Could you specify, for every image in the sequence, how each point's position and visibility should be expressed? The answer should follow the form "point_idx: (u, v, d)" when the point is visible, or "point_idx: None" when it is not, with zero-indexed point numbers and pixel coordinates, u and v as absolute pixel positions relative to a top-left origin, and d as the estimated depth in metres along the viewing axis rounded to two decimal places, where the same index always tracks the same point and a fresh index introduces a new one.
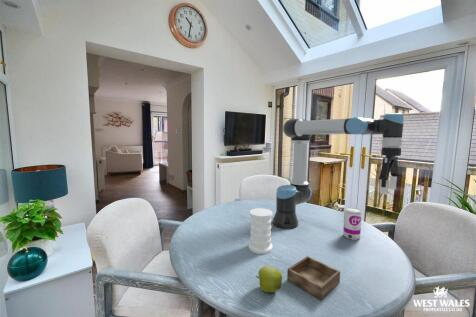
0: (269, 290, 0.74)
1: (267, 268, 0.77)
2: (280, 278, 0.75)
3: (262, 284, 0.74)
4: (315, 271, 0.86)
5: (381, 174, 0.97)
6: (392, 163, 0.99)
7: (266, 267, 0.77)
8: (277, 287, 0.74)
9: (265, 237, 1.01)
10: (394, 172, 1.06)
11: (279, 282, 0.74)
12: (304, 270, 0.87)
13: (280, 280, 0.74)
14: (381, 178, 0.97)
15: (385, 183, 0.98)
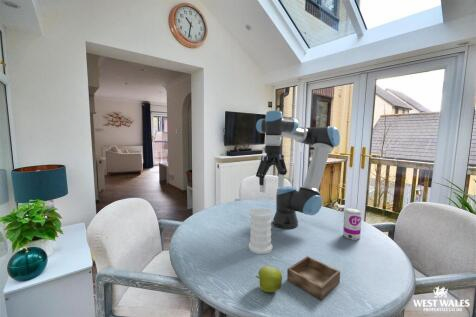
0: (269, 290, 0.74)
1: (267, 267, 0.77)
2: (280, 278, 0.75)
3: (262, 284, 0.74)
4: (315, 271, 0.86)
5: (257, 172, 0.96)
6: (271, 161, 0.99)
7: (266, 267, 0.77)
8: (277, 287, 0.74)
9: (265, 237, 1.01)
10: (280, 170, 1.06)
11: (279, 282, 0.74)
12: (304, 270, 0.87)
13: (280, 280, 0.74)
14: (257, 176, 0.96)
15: (262, 181, 0.97)
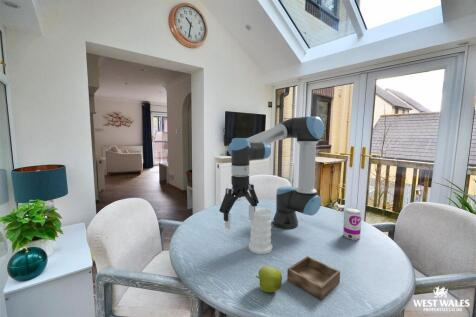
0: (269, 290, 0.74)
1: (267, 268, 0.77)
2: (280, 278, 0.75)
3: (262, 284, 0.74)
4: (315, 271, 0.86)
5: (221, 207, 0.87)
6: (237, 194, 0.89)
7: (266, 267, 0.77)
8: (277, 287, 0.74)
9: (265, 237, 1.01)
10: (250, 201, 0.96)
11: (279, 282, 0.74)
12: (304, 270, 0.87)
13: (280, 280, 0.74)
14: (220, 211, 0.86)
15: (226, 217, 0.87)
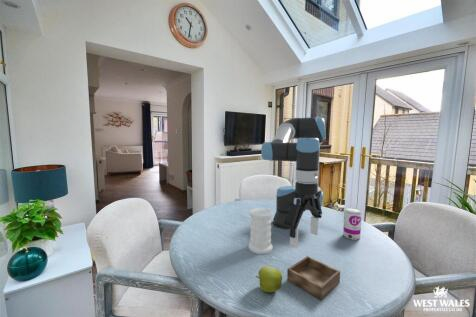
0: (269, 290, 0.74)
1: (267, 267, 0.77)
2: (280, 278, 0.75)
3: (262, 284, 0.74)
4: (315, 271, 0.86)
5: (288, 221, 0.72)
6: (305, 204, 0.74)
7: (266, 267, 0.77)
8: (277, 287, 0.74)
9: (265, 237, 1.01)
10: (314, 213, 0.81)
11: (279, 282, 0.74)
12: (304, 270, 0.87)
13: (280, 280, 0.74)
14: (287, 226, 0.71)
15: (294, 232, 0.72)
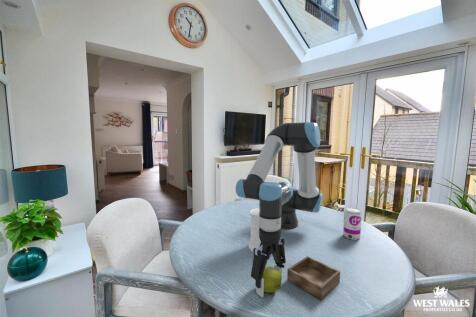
0: (269, 290, 0.73)
1: (267, 268, 0.77)
2: (280, 278, 0.75)
3: None
4: (315, 271, 0.86)
5: (252, 272, 0.72)
6: (268, 253, 0.73)
7: (266, 267, 0.77)
8: (277, 287, 0.74)
9: None
10: (277, 261, 0.78)
11: (279, 282, 0.74)
12: (304, 270, 0.87)
13: (280, 280, 0.74)
14: (252, 277, 0.72)
15: (259, 283, 0.73)
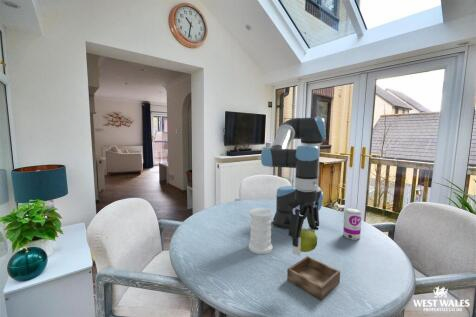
0: (305, 249, 0.76)
1: (302, 229, 0.79)
2: (316, 238, 0.77)
3: None
4: (315, 271, 0.86)
5: (290, 231, 0.74)
6: (305, 213, 0.75)
7: (301, 229, 0.79)
8: (313, 247, 0.76)
9: (265, 237, 1.01)
10: (312, 223, 0.81)
11: (315, 242, 0.76)
12: (304, 270, 0.87)
13: (316, 240, 0.76)
14: None
15: (296, 241, 0.75)
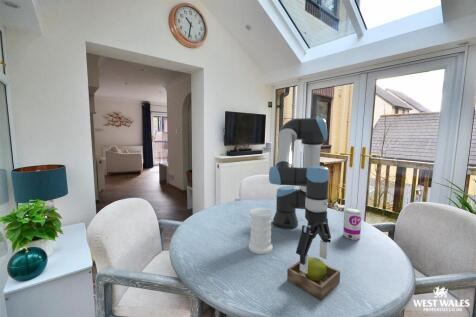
0: (315, 279, 0.78)
1: (312, 258, 0.81)
2: (325, 268, 0.79)
3: (308, 273, 0.78)
4: None
5: (298, 248, 0.74)
6: (315, 232, 0.76)
7: (310, 258, 0.82)
8: (323, 276, 0.78)
9: (265, 237, 1.01)
10: (324, 237, 0.83)
11: (324, 271, 0.78)
12: None
13: (325, 270, 0.79)
14: (298, 254, 0.74)
15: (304, 259, 0.75)
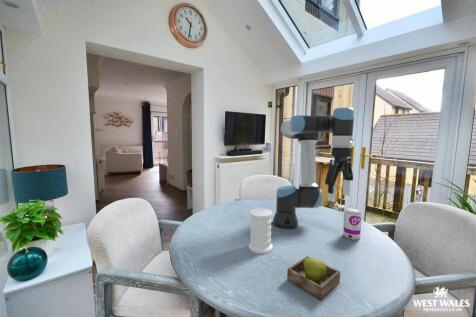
0: (315, 279, 0.78)
1: (312, 258, 0.81)
2: (325, 268, 0.79)
3: (308, 273, 0.78)
4: None
5: (327, 178, 0.84)
6: (341, 165, 0.86)
7: (311, 258, 0.81)
8: (323, 277, 0.78)
9: (265, 237, 1.01)
10: (347, 175, 0.93)
11: (325, 272, 0.78)
12: (304, 270, 0.87)
13: (325, 270, 0.79)
14: (327, 183, 0.83)
15: (332, 189, 0.84)
